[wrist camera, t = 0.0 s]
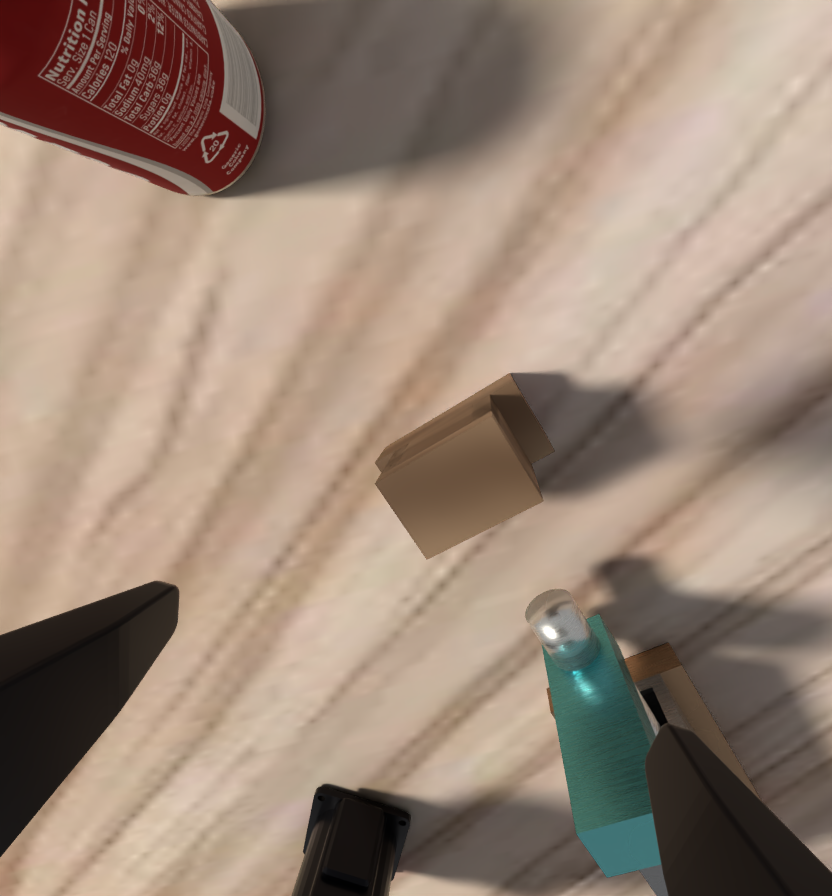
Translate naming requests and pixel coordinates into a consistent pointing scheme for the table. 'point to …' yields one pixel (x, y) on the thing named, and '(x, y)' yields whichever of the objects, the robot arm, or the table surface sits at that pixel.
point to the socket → (465, 468)
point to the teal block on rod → (598, 733)
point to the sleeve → (675, 717)
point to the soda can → (135, 87)
